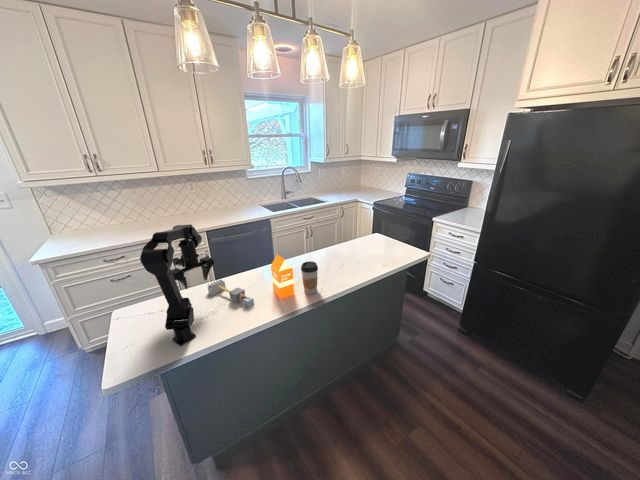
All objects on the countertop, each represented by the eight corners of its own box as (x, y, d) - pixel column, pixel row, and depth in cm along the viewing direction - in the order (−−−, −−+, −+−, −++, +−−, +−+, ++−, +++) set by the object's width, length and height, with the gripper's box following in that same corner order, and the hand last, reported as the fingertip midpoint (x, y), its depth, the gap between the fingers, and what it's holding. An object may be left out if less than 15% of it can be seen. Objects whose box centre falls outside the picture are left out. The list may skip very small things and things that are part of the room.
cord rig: (257, 301, 123) (256, 292, 122) (244, 310, 117) (243, 301, 116) (222, 286, 138) (220, 278, 137) (208, 293, 132) (207, 284, 130)
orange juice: (280, 299, 125) (276, 261, 118) (273, 291, 132) (269, 255, 125) (294, 293, 129) (292, 257, 122) (286, 286, 136) (283, 251, 129)
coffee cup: (304, 297, 126) (302, 269, 121) (300, 288, 134) (299, 262, 129) (320, 294, 128) (319, 266, 123) (316, 285, 136) (315, 260, 131)
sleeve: (245, 297, 126) (244, 290, 124) (237, 302, 122) (235, 295, 120) (238, 294, 128) (237, 287, 127) (230, 299, 125) (229, 292, 123)
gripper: (198, 242, 123) (204, 272, 129) (157, 256, 109) (166, 288, 114) (212, 247, 117) (218, 277, 123) (171, 262, 103) (179, 296, 108)
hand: (196, 284), depth 117 cm, fingers open, 9 cm apart
